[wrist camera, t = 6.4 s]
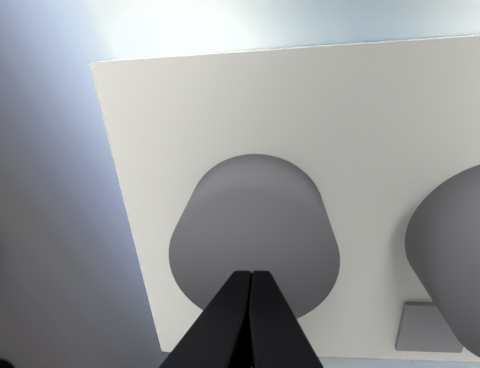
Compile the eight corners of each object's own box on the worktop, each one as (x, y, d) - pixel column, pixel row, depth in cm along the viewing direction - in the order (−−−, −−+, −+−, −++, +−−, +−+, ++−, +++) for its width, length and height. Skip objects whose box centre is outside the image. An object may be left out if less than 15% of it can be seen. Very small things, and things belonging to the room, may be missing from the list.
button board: (671, 326, 13) (743, 377, 11) (174, 315, 15) (160, 355, 13) (907, 5, 8) (1114, -7, 6) (120, 59, 10) (85, 63, 8)
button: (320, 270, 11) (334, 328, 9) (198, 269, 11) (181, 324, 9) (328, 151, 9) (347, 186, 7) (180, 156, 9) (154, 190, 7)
